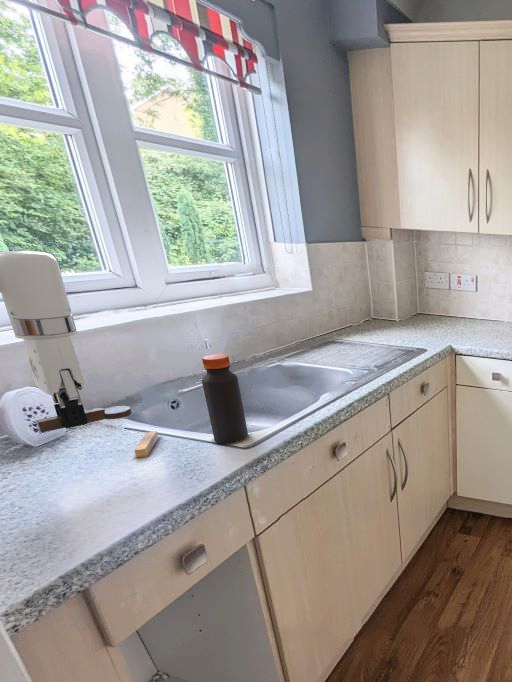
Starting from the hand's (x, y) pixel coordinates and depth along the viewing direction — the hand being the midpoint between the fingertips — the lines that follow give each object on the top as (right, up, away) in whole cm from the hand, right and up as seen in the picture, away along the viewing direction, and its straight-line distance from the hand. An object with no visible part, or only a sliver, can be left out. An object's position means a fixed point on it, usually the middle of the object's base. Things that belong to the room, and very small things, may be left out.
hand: (74, 423), depth 84 cm
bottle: (+14, -5, +23) cm, 27 cm away
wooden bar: (0, -6, +17) cm, 18 cm away
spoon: (+1, 0, +2) cm, 2 cm away
